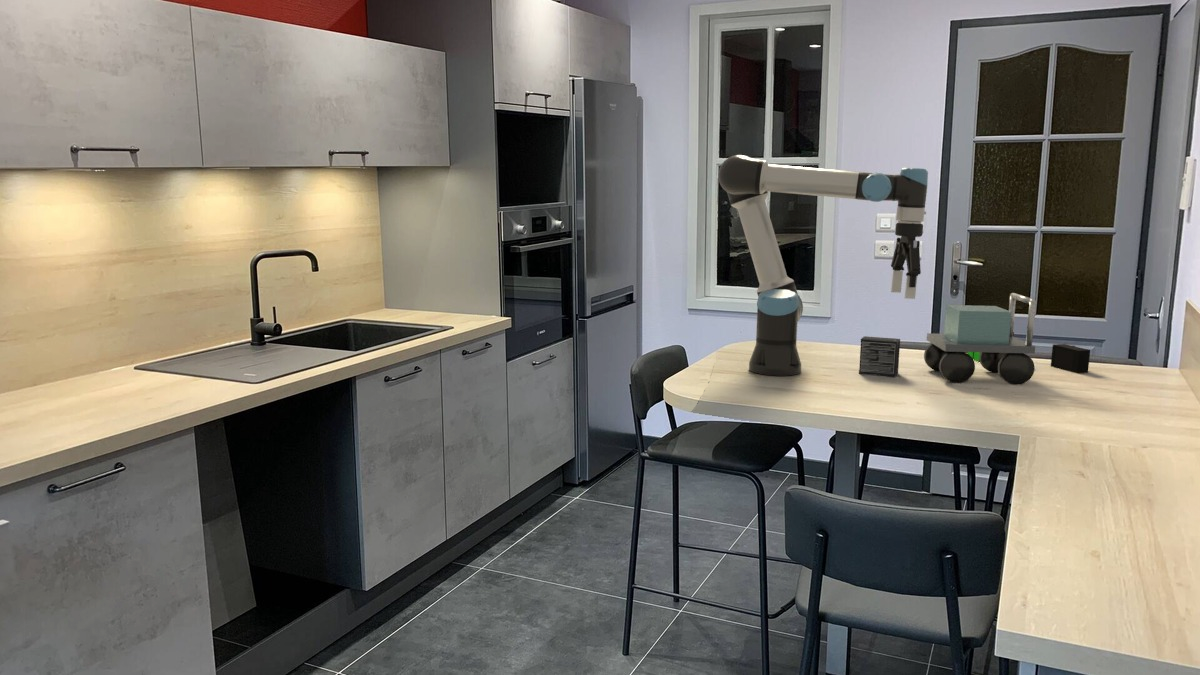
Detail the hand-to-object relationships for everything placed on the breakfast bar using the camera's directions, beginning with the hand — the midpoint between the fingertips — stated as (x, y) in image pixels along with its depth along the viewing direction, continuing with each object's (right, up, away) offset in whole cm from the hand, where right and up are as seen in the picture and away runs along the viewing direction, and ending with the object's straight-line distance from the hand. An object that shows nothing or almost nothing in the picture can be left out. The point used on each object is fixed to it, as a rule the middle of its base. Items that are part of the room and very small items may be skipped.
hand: (902, 295), depth 259 cm
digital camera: (+53, -22, +7) cm, 58 cm away
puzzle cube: (+34, -20, +21) cm, 45 cm away
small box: (-7, -23, -1) cm, 24 cm away
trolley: (+19, -24, -5) cm, 31 cm away
